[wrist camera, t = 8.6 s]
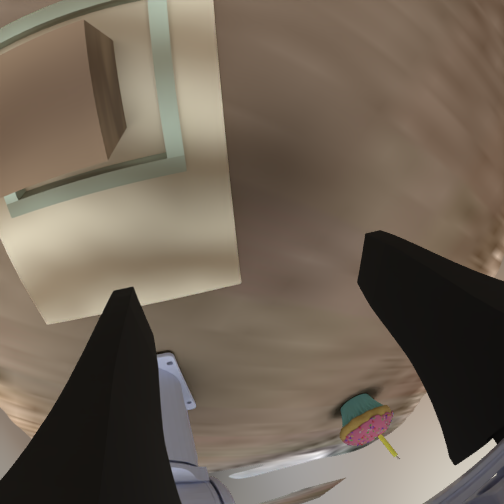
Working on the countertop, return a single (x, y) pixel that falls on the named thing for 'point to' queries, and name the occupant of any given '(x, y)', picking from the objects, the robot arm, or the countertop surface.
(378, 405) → the cupcake
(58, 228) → the board
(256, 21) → the countertop surface
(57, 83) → the walnut block
